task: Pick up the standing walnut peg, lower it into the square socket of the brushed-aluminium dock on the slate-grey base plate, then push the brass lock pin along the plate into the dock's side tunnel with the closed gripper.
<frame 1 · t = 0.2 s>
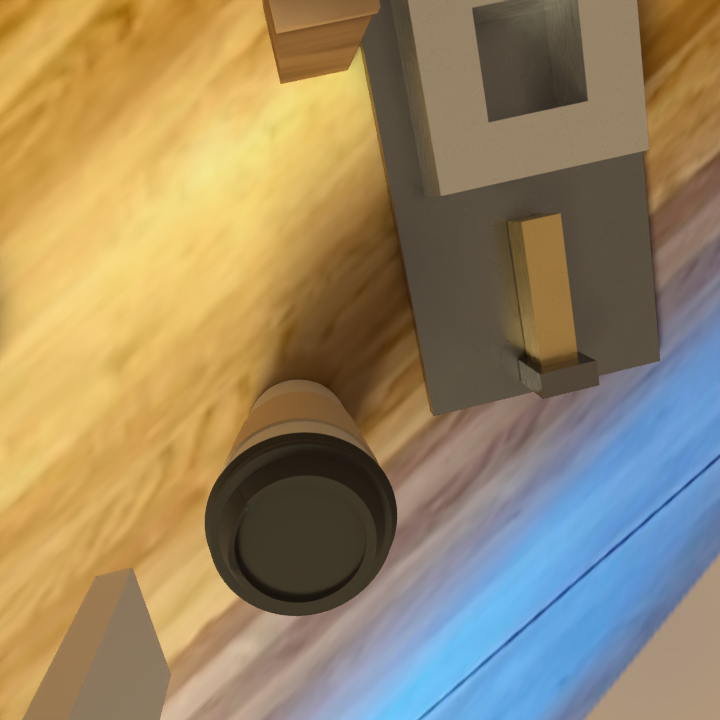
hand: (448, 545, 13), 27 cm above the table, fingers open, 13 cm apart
dock: (499, 75, 37), on the table
peg: (306, 39, 35), on the table
coffee cup: (297, 427, 41), on the table
pin: (548, 303, 38), point 3 cm above the table, slide at 0.0 cm
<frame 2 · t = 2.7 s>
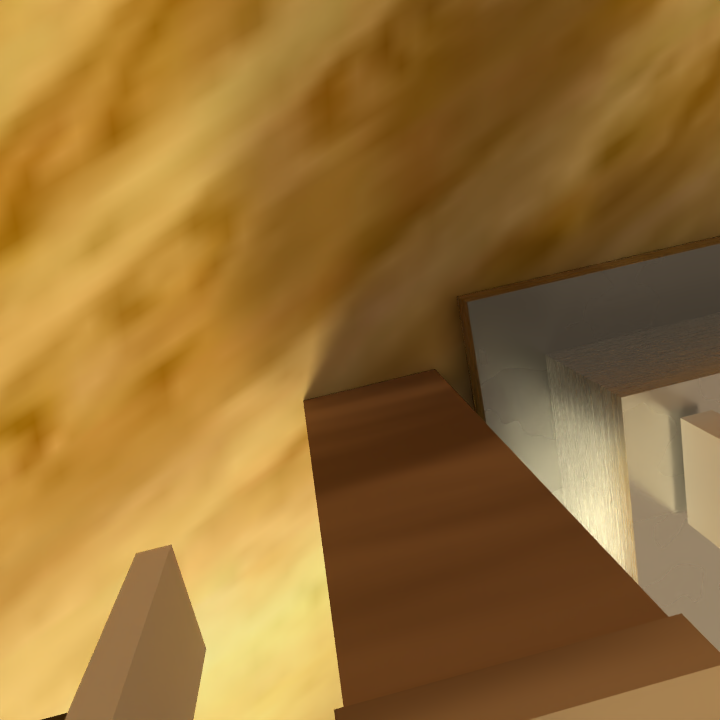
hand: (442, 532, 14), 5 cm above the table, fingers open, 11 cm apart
peg: (382, 446, 19), on the table
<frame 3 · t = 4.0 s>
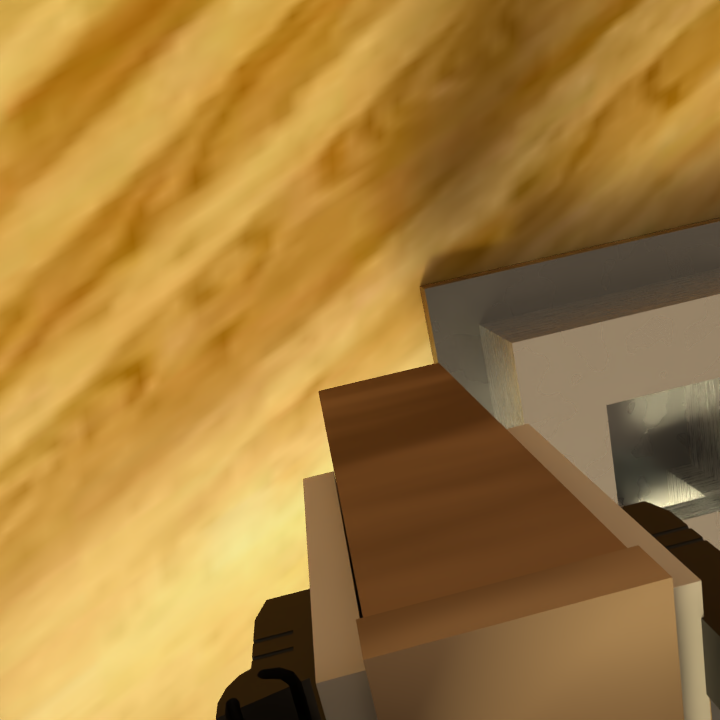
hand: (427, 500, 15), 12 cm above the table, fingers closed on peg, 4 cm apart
dock: (616, 415, 29), on the table
peg: (390, 433, 20), point 7 cm above the table, touching gripper
pin: (678, 702, 29), point 3 cm above the table, slide at 0.0 cm
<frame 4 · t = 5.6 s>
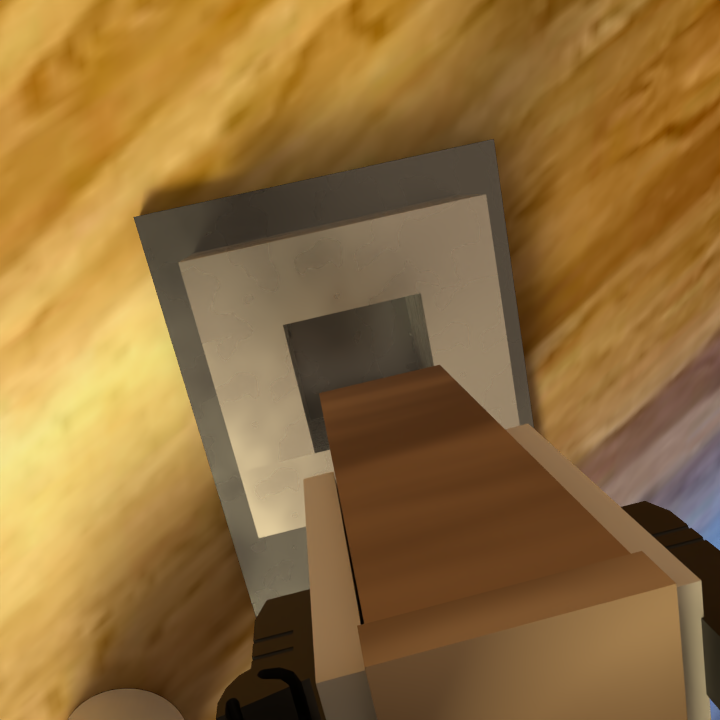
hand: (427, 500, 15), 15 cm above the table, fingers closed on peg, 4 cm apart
dock: (352, 346, 30), on the table
peg: (391, 435, 20), point 10 cm above the table, touching gripper
when the fingers open (6 cm above the table, at t = 7.3 s): peg stays where it is, resting on dock.
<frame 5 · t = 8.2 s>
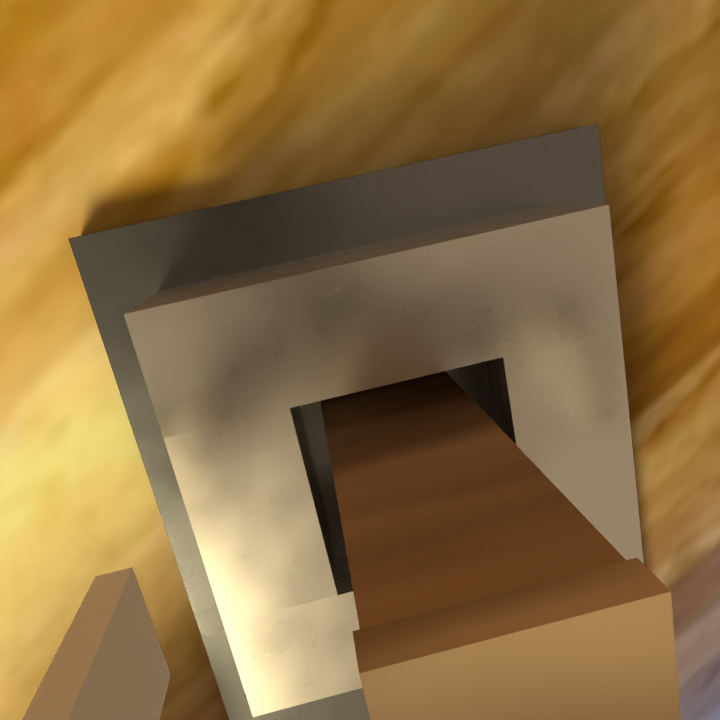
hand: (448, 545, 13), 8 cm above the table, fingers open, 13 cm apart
dock: (387, 417, 21), on the table
peg: (391, 435, 20), point 1 cm above the table, touching dock
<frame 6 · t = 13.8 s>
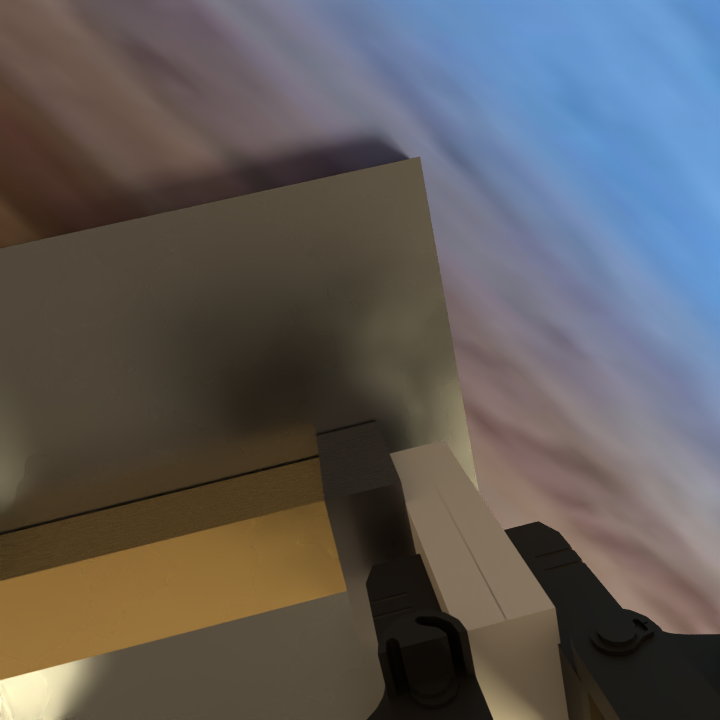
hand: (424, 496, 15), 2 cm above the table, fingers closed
pin: (183, 571, 14), point 3 cm above the table, slide at 1.5 cm, touching gripper
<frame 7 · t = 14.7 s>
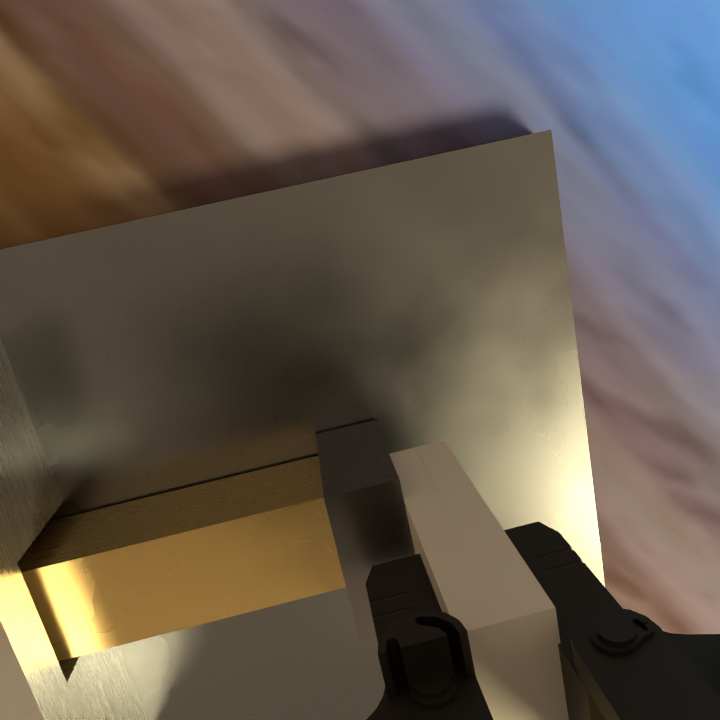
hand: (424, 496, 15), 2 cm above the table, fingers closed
pin: (184, 567, 15), point 3 cm above the table, slide at 4.8 cm, touching gripper
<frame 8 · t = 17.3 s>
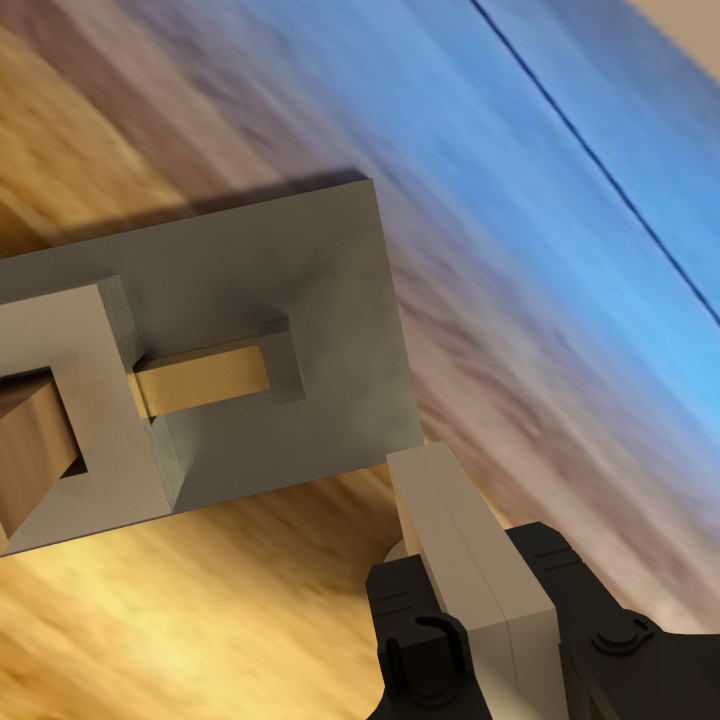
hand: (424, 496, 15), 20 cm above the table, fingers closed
dock: (50, 401, 34), on the table
peg: (48, 407, 33), point 1 cm above the table, touching dock
pin: (197, 379, 32), point 3 cm above the table, slide at 5.1 cm
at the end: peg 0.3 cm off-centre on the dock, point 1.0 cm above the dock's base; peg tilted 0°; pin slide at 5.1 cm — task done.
